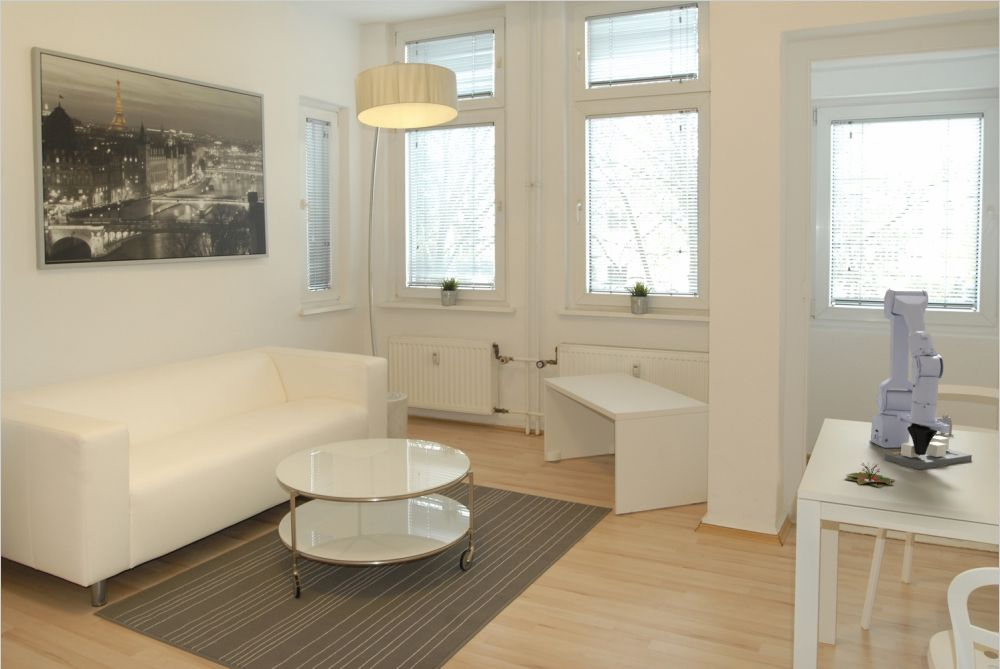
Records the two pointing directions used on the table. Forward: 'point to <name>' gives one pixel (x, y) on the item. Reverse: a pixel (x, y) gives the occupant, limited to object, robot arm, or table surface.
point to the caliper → (945, 422)
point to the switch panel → (929, 459)
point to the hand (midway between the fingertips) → (920, 454)
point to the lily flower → (869, 477)
